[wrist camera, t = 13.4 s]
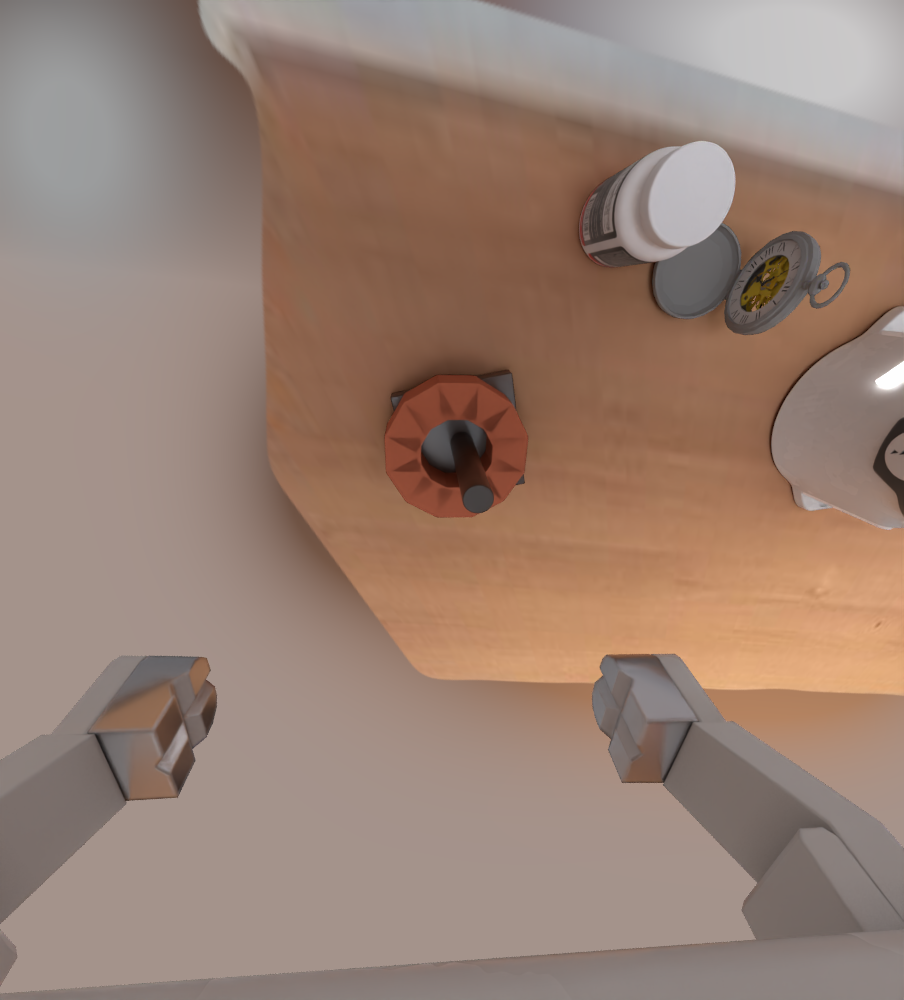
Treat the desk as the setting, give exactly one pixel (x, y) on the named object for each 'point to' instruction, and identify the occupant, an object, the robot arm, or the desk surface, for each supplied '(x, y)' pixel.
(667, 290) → the pocket watch
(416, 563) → the desk surface
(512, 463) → the ring
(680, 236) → the pill bottle
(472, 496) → the peg on square base
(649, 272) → the desk surface
